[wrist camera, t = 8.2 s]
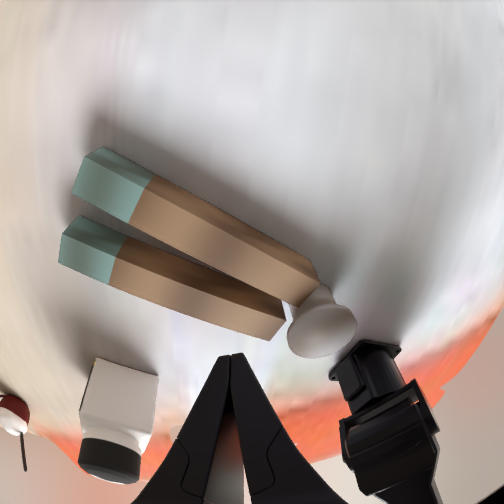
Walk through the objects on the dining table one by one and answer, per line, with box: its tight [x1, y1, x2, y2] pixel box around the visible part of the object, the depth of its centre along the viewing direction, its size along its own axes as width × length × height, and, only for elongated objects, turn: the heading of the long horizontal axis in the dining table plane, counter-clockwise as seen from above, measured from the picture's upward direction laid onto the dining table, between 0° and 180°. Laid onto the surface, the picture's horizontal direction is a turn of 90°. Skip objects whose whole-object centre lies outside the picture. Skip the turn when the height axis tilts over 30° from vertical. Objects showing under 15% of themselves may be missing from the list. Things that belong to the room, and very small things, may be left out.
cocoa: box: [0, 395, 30, 472], centre depth 27 cm, size 10×6×12 cm, turn 25°
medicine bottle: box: [78, 358, 159, 484], centre depth 23 cm, size 7×7×12 cm
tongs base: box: [58, 215, 357, 358], centre depth 19 cm, size 22×6×4 cm, turn 61°
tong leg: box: [72, 147, 321, 308], centre depth 18 cm, size 16×2×3 cm, turn 56°
